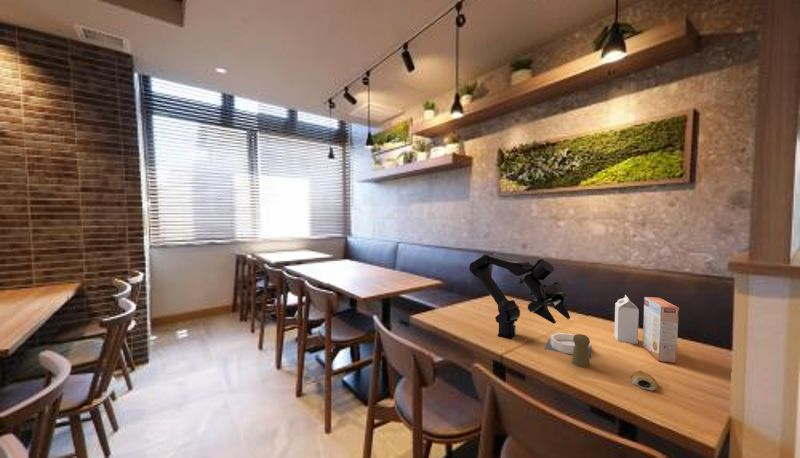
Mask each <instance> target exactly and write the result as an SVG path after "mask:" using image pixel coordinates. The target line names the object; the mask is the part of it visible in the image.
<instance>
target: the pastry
mask: <svg viewBox="0 0 800 458" xmlns="http://www.w3.org/2000/svg"><path fill="white" fill-rule="evenodd" d="M630 379H631V385H633V386H637V387H639V389H641V390H646V391H650V392H651V391H652V392H653V391H656V390H657V389H658V388H659V387H658V382H657V380H656V379H655V378H654V377H653V376H652V375H651V374H649V373H647V372H645V371H642V370H638V371H633V373H632V374H631V376H630Z"/></svg>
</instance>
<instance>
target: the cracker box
mask: <svg viewBox="0 0 800 458" xmlns="http://www.w3.org/2000/svg"><path fill="white" fill-rule="evenodd" d="M643 301H644V302H643V320H642V321H643V325H642V326H643V327H642V347H643V349H644V350H645V351H647V352H648V353H649V354H650V355H651V356H652V357H654V358H655V360H657V362H664V363H671V364H673V363H674V364H677V356H678V355H677V352H678V334H679V313H680V307H678V306H677V305H674V304H672V303H671V302H668V301H666V300H665V299H663V298H661V297H651V296H644V299H643Z"/></svg>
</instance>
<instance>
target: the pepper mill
mask: <svg viewBox="0 0 800 458" xmlns="http://www.w3.org/2000/svg"><path fill="white" fill-rule="evenodd" d="M574 335H575V336H574V337H573V341H574V343H575V346H574V351H573V355H572V357H571V364H572V365H574V366H576V367H577V368H582V369H583V368H584V369H586V368H590V367H591V360H590V358H589V351H588V345H589V346H590V343H591V341H590V338H589V337H588V336H587V335H586V334H580V333H578V334H577V333H576V334H574Z"/></svg>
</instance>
